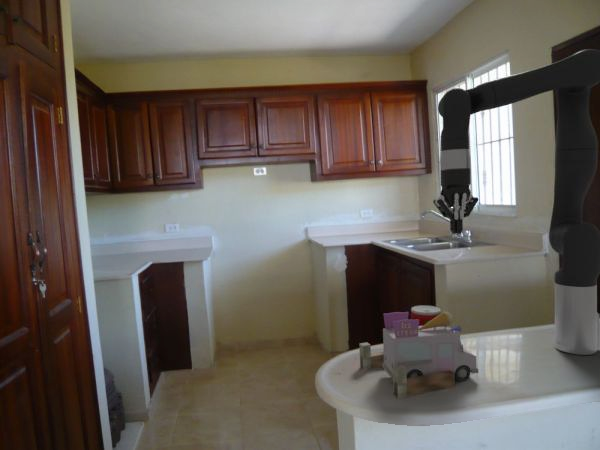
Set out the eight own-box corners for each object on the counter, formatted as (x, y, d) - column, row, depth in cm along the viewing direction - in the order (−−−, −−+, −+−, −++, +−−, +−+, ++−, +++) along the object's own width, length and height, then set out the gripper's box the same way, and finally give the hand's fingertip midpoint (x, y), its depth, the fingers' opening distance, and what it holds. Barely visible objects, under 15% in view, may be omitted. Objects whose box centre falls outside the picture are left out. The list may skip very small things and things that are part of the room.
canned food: (428, 356, 113) (427, 314, 112) (405, 347, 120) (404, 308, 119) (448, 349, 117) (447, 309, 116) (425, 342, 124) (424, 303, 123)
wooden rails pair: (410, 358, 112) (409, 335, 111) (455, 386, 95) (455, 359, 94) (360, 367, 107) (359, 343, 107) (398, 398, 90) (397, 369, 90)
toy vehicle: (480, 382, 96) (479, 315, 95) (394, 390, 94) (392, 321, 93) (460, 366, 105) (459, 305, 105) (381, 373, 103) (379, 311, 102)
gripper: (466, 168, 121) (467, 231, 122) (425, 169, 116) (426, 234, 118) (486, 166, 113) (487, 233, 115) (442, 167, 109) (444, 236, 110)
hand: (456, 233), depth 116 cm, fingers closed
